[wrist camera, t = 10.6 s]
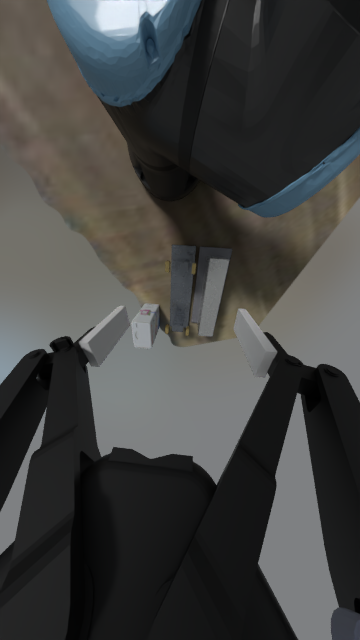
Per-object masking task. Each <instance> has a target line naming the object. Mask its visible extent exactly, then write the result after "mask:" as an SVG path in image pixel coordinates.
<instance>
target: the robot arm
mask: <svg viewBox="0 0 360 640" xmlns="http://www.w3.org/2000/svg"><path fill="white" fill-rule="evenodd" d="M47 2H48V5H49V7H50V10H51V12H52V15H53V17H54V20H55V22H56V24H57V26H58V28H59V30H60V32H61V34H62V36H63V38H64V40H65V42H66V44H67V46H68V47H69V49H70V51H71V53H72V55H73V57H74V59H75V61H76V62H77V65H78V67H79V69H80V71H81V73H82V76H83V77H84V78H85V80H86V82H87V84H88V85H89V87H91V89H92V90H93V92H94V93H95V94H96V95H97V96H98V98H99V99H100V101H101V102H102V104H103V106H104V107H105V109H106V110H107V112H108V113H109V115H110V116H111V118H112V120H113V121H114V123H115V124H116V126H117V127H118V129H119V130H120V132H121V134H122V135H123V137H124V138H125V140H126V141H127V145H128V151H129V155H130V159H131V162H132V165H133V167H134V170H135V172H136V174H137V176H138V177H139V179H140V181H141V182H142V183H143V185H144V186H145V187H146V188H147V189H148V191H149V192H151V193H152V194H153V195H154V196H156V197H158V198H160V199H162V200H167V201H174V200H178V199H181V198H183V197H185V196H186V195H188V194H189V193H190V192H191V191H192V190H193V189H194V188H195V187H196V185H197V184H198V182H199V181H200V180H201V181H202V182H204V183H206V184H207V185H209V186H211V187H212V188H214V189H215V190H217V191H219V192H220V193H222V194H224V195H225V196H227V197H228V198H230V199H232V200H233V201H235V202H236V203H238V206H239V207H240V208H242V209H245V210H250V211H252V212H254V213H255V214H257V215H259V216H261V217H276V216H279V215H282V214H284V213H286V212H288V211H290V210H292V209H294V208H295V207H297V206H299V205H300V204H302V203H303V202H305V201H306V200H308V199H309V198H310V197H312V196H313V195H314V194H316V193H317V192H318V191H320V190H321V189H322V188H323V187H325V186H326V185H327V184H328V183H329V182H331V181H332V180H333V179H334V178H335V177H336V176H337V175H339V174H340V173H341V172H342V171H343V170H344V169H345V168H346V167H347V166H348V165H349V164H350V163H351V162H352V161H353V160H354V159H355V158H356V157H357V156H358V155H359V154H360V0H47ZM129 326H130V323H129V319H128V315H127V311H126V307H125V306H118V307H117V308H116V309H115V310H114V311H113V312H112V313H111V314H109V315H108V316H107V317H106V318H105V319H104V320H103V321H102V322H100V323H99V324H98V325H97V326H95V327H93V328H91V329H90V330H88V331H87V332H86V333H85V334H84V335H83V336H82V337H80V338H79V339H78V340H77V341H76V342H75V343H73V341H72V340H71V338H70V337H68V336H65V337H60V338H58V339H56V340H54V341H52V342H51V343H50V347H51V348H52V350H53V351H54V352H52V353H47V352H46V351H45V350H44V349H38V350H34V351H32V352H30V353H28V354H26V355H25V356H24V357H23V358H22V359H21V360H20V362H19V363H18V364H17V365H16V366H15V368H14V369H13V370H12V371H11V373H10V374H9V375H8V376H7V377H6V379H5V380H4V381H3V382H2V383H1V385H0V511H1V509H2V507H3V505H4V503H5V501H6V498H7V496H8V494H9V492H10V489H11V487H12V485H13V483H14V480H15V478H16V476H17V473H18V471H19V469H20V467H21V464H22V462H23V460H24V457H25V455H26V453H27V451H28V448H29V446H30V443H31V441H32V439H33V436H34V435H35V432H36V430H37V428H38V425H39V423H40V421H41V418H42V416H43V414H44V412H45V409H46V407H47V410H46V417H45V424H44V431H43V437H42V444H41V447H40V449H38V450H36V451H35V452H34V453H33V455H32V456H31V460H30V463H29V469H28V474H27V479H26V485H25V490H24V495H23V501H22V506H21V511H20V517H19V522H18V527H17V533H16V538H15V541H14V542H13V543H12V544H11V545H10V546H9V547H8V548H7V549H6V550H5V551H4V552H3V553H2V554H1V555H0V640H298V639H297V637H296V635H295V633H294V631H293V629H292V627H291V626H290V623H289V622H288V620H287V618H286V616H285V614H284V612H283V610H282V608H281V606H280V605H279V603H278V601H277V599H276V597H275V595H274V593H273V591H272V589H271V588H270V586H269V584H268V582H267V580H266V578H265V576H264V574H263V573H262V571H261V569H260V567H259V565H258V561H259V557H260V553H261V549H262V545H263V541H264V537H265V532H266V528H267V524H268V520H269V516H270V512H271V508H272V504H273V500H274V496H275V491H276V479H275V474H276V470H277V466H278V462H279V458H280V454H281V451H282V447H283V443H284V440H285V436H286V432H287V428H288V425H289V421H290V417H291V414H292V410H293V406H294V402H295V399H296V395H297V393H299V394H301V399H302V406H303V412H304V419H305V425H306V431H307V438H308V444H309V451H310V457H311V463H312V470H313V475H314V482H315V488H316V495H317V501H318V508H319V514H320V520H321V527H322V533H323V539H324V546H325V551H326V556H327V561H328V566H329V571H330V574H331V578H332V582H333V586H334V590H335V594H336V598H337V601H338V604H339V608H337V609H336V610H334V612H333V615H332V618H331V634H332V640H360V402H359V400H358V398H357V396H356V394H355V392H354V390H353V388H352V386H351V384H350V383H349V380H348V379H347V377H346V375H345V374H344V373H343V372H342V371H340V370H339V369H337V368H335V367H333V366H330V365H327V364H320V365H318V367H317V368H314V367H310V366H306V365H303V363H302V362H301V361H300V360H299V359H297V358H295V357H293V356H290V355H288V354H287V353H286V352H285V350H284V349H283V348H282V347H281V345H280V344H279V343H278V342H277V341H276V339H275V338H274V337H273V336H272V335H271V334H269V333H268V332H262V331H261V329H260V328H259V326H258V325H257V324H256V322H255V321H254V320H253V318H252V317H251V316H250V314H249V313H248V312H247V310H246V309H238V312H237V317H236V321H235V325H234V331H235V333H236V336H237V338H238V340H239V342H240V344H241V347H242V349H243V351H244V353H245V356H246V358H247V360H248V362H249V365H250V367H251V369H252V371H253V374H254V376H255V377H265V376H266V374H267V372H268V374H269V376H270V378H269V380H268V382H267V384H266V386H265V388H264V390H263V392H262V394H261V396H260V399H259V400H258V402H257V404H256V406H255V409H254V410H253V413H252V415H251V417H250V419H249V421H248V423H247V425H246V427H245V429H244V431H243V433H242V435H241V437H240V439H239V441H238V443H237V445H236V447H235V449H234V451H233V454H232V456H231V457H230V459H229V461H228V464H227V465H226V467H225V470H224V471H223V473H222V475H221V477H220V479H219V482H218V483H217V485H216V484H215V482H214V481H213V479H212V478H211V477H210V475H209V474H208V473H207V472H206V471H205V470H204V469H203V468H202V467H201V466H199V465H198V464H196V463H194V462H193V456H186V455H177V454H170V455H166V456H162V457H158V458H154V459H149V458H147V457H145V456H143V455H142V454H140V453H138V452H136V451H134V450H133V449H125V448H117V447H113V449H112V452H111V453H110V454H108V455H105V456H103V457H101V455H100V452H99V450H98V447H97V440H96V432H95V425H94V417H93V409H92V401H91V393H90V386H89V378H88V370H87V366H86V364H87V363H88V362H89V363H90V365H91V366H96V367H99V366H100V365H101V364H102V362H103V361H104V360H105V358H106V357H107V355H108V354H109V353H110V352H111V350H112V349H113V348H114V346H115V345H116V344H117V342H118V341H119V340H120V338H121V336H122V335H123V334H124V333H125V331H126V330H127V329H128V327H129Z"/></svg>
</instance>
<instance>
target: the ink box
mask: <svg viewBox="0 0 360 640" xmlns="http://www.w3.org/2000/svg"><path fill="white" fill-rule="evenodd" d="M131 325H132V333H133V341H134V346H135V347H136V348H152V345H153V343H154V340H155V337H156V335H157V332H158V329H159V326H160V323H159V305H158V304H144V305H143V307H142V308H141V310H140V311H139V312H138V314H137V315H136V317H135V318H134V319H133V320H132V322H131Z"/></svg>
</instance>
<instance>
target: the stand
mask: <svg viewBox="0 0 360 640" xmlns="http://www.w3.org/2000/svg"><path fill="white" fill-rule="evenodd" d="M195 253H196V246H184V245H172V264H171V305H170V326H172V331H177V332H183V327H184V328H186V336H188V335H189V326H188V320H189V311H190V301H191V291H192V282H193V274H195V272H196V263H194V262H195ZM165 272H170V261H166V262H165ZM165 333H166V334H168V333H169V325H167V324H166V327H165Z"/></svg>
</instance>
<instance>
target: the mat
mask: <svg viewBox="0 0 360 640" xmlns="http://www.w3.org/2000/svg"><path fill="white" fill-rule="evenodd" d="M231 253H232V249H229V248H214V247H200V251H199V259H198V268H197V277H196V285H195V294H194V302H193V311H192V320H191V322H194V323H197V322H198V315H199V308H200V301H201V294H202V287H203V280H204V273H205V266H206V259H207V256H214V257H224V258H226V259H229V262H230V258H231ZM228 267H229V264H228ZM227 271H228V268H227ZM226 276H227V273H226ZM225 280H226V277H225ZM224 284H225V282H224ZM223 289H224V286H223ZM222 293H223V291H222ZM221 298H222V295H221ZM220 302H221V300H220ZM219 307H220V304H219ZM218 311H219V309H218ZM217 316H218V313H217ZM216 320H217V318H216ZM215 324H216V322H215Z"/></svg>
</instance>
